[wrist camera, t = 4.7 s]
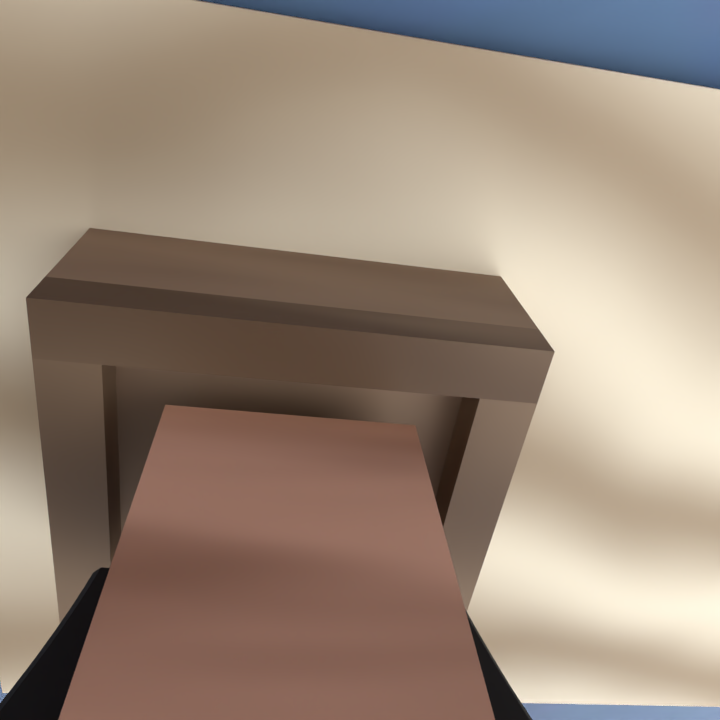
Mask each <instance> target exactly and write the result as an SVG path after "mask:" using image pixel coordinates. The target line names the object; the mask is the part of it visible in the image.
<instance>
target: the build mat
mask: <svg viewBox="0 0 720 720" xmlns="http://www.w3.org/2000/svg"><path fill="white" fill-rule="evenodd" d="M165 405H175V406H187V407H199V408H212V409H224V410H236V411H248V412H260V413H272V414H285V415H297V416H309V417H321V418H333V419H345V420H358V421H370V422H382V423H394V424H406V425H415V426H416V429H417V433H418V437H419V440H420V444H421V448H422V452H423V455H424V459H425V463H426V466H427V470H428V474H429V477H430V481H431V485H432V489H433V492H434V496H435V500H436V503H437V507H438V511H439V514H440V518H441V522H442V525H443V529H444V533H445V537H446V540H447V544H448V548H449V551H450V555H451V559H452V562H453V566H454V570H455V573H456V577H457V581H458V585H459V588H460V592H461V596H462V599H463V603H464V607H465V609H466V611H467V613H468V615H469V617H470V618H471V620H472V622H473V624H474V625H475V627H476V629H477V631H478V632H479V634H480V636H481V638H482V639H483V641H484V643H485V645H486V646H487V648H488V650H489V651H490V653H491V655H492V656H493V658H494V660H495V661H496V663H497V665H498V666H499V668H500V670H501V671H502V673H503V675H504V676H505V678H506V679H507V681H508V683H509V684H510V686H511V688H512V689H513V691H514V692H515V694H516V695H517V697H518V698H519V700H520V702H521V703H551V704H603V705H655V706H706V707H720V89H717V88H711V87H705V86H699V85H693V84H687V83H681V82H676V81H670V80H664V79H658V78H652V77H646V76H640V75H634V74H629V73H623V72H617V71H611V70H605V69H599V68H593V67H587V66H582V65H576V64H570V63H564V62H558V61H552V60H546V59H540V58H535V57H529V56H523V55H517V54H511V53H505V52H499V51H493V50H488V49H482V48H476V47H470V46H464V45H458V44H452V43H446V42H441V41H435V40H429V39H423V38H417V37H411V36H405V35H400V34H394V33H388V32H382V31H376V30H370V29H364V28H358V27H353V26H347V25H341V24H335V23H329V22H323V21H317V20H311V19H306V18H300V17H294V16H288V15H282V14H276V13H270V12H264V11H259V10H253V9H247V8H241V7H235V6H229V5H223V4H217V3H212V2H206V1H200V0H0V681H1V687H2V692H3V693H9V691H10V690H11V689H12V688H13V686H14V685H15V684H16V682H17V681H18V680H19V678H20V677H21V676H22V675H23V673H24V672H25V671H26V669H27V668H28V667H29V665H30V664H31V663H32V661H33V660H34V659H35V658H36V656H37V655H38V653H39V652H40V651H41V649H42V648H43V646H44V645H45V644H46V642H47V641H48V640H49V638H50V637H51V635H52V634H53V633H54V631H55V630H56V628H57V627H58V625H59V624H60V623H61V621H62V620H63V618H64V617H65V615H66V614H67V612H68V611H69V609H70V608H71V607H72V605H73V603H74V602H75V600H76V599H77V597H78V596H79V594H80V593H81V591H82V590H83V588H84V586H85V585H86V583H87V582H88V580H89V578H90V577H91V575H92V573H93V572H95V571H96V570H98V569H99V568H101V567H104V568H110V566H111V563H112V560H113V557H114V554H115V551H116V548H117V545H118V543H119V540H120V537H121V534H122V531H123V528H124V525H125V522H126V519H127V516H128V513H129V510H130V507H131V504H132V501H133V498H134V495H135V492H136V490H137V487H138V484H139V481H140V478H141V475H142V472H143V469H144V466H145V463H146V460H147V457H148V454H149V451H150V448H151V445H152V442H153V439H154V436H155V434H156V431H157V428H158V425H159V422H160V419H161V416H162V413H163V410H164V407H165Z"/></svg>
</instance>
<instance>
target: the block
mask: <svg viewBox="0 0 720 720" xmlns="http://www.w3.org/2000/svg"><path fill="white" fill-rule="evenodd" d="M58 720H495V718H494V714H493V710H492V706H491V703H490V699H489V695H488V692H487V688H486V684H485V681H484V677H483V673H482V670H481V666H480V662H479V658H478V655H477V651H476V647H475V644H474V640H473V636H472V633H471V629H470V625H469V622H468V618H467V614H466V610H465V607H464V603H463V599H462V596H461V592H460V588H459V585H458V581H457V577H456V573H455V570H454V566H453V562H452V559H451V555H450V551H449V548H448V544H447V540H446V537H445V533H444V529H443V525H442V522H441V518H440V514H439V511H438V507H437V503H436V500H435V496H434V492H433V489H432V485H431V481H430V477H429V474H428V470H427V466H426V463H425V459H424V455H423V452H422V448H421V444H420V440H419V437H418V433H417V429H416V426H415V425H406V424H394V423H382V422H370V421H358V420H345V419H333V418H321V417H309V416H297V415H285V414H272V413H260V412H248V411H236V410H224V409H212V408H199V407H187V406H175V405H165V407H164V410H163V413H162V416H161V419H160V422H159V425H158V428H157V431H156V434H155V436H154V439H153V442H152V445H151V448H150V451H149V454H148V457H147V460H146V463H145V466H144V469H143V472H142V475H141V478H140V481H139V484H138V487H137V490H136V492H135V495H134V498H133V501H132V504H131V507H130V510H129V513H128V516H127V519H126V522H125V525H124V528H123V531H122V534H121V537H120V540H119V543H118V545H117V548H116V551H115V554H114V557H113V560H112V563H111V566H110V569H109V572H108V575H107V578H106V581H105V584H104V587H103V590H102V593H101V596H100V598H99V601H98V604H97V607H96V610H95V613H94V616H93V619H92V622H91V625H90V628H89V631H88V634H87V637H86V640H85V643H84V646H83V649H82V651H81V654H80V657H79V660H78V663H77V666H76V669H75V672H74V675H73V678H72V681H71V684H70V687H69V690H68V693H67V696H66V699H65V702H64V705H63V707H62V710H61V713H60V716H59V719H58Z"/></svg>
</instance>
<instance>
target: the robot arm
mask: <svg viewBox="0 0 720 720" xmlns="http://www.w3.org/2000/svg"><path fill="white" fill-rule="evenodd" d="M109 569H110V568H104V567H101V568H99V569H98V570H96V571H95V572H93V573H92V575H91V577H90V578H89V580H88V582H87V583H86V585H85V586H84V588H83V590H82V591H81V593H80V594H79V596H78V597H77V599H76V600H75V602H74V603H73V605H72V607H71V608H70V609H69V611H68V612H67V614H66V615H65V617H64V618H63V620H62V621H61V623H60V624H59V625H58V627H57V628H56V630H55V631H54V633H53V634H52V635H51V637H50V638H49V640H48V641H47V642H46V644H45V645H44V646H43V648H42V649H41V651H40V652H39V653H38V655H37V656H36V658H35V659H34V660H33V661H32V663H31V664H30V665H29V667H28V668H27V669H26V671H25V672H24V673H23V675H22V676H21V677H20V678H19V680H18V681H17V682H16V684H15V685H14V686H13V688H12V689H11V690H10V691H9V693H8V694H7V695H6V697H5V698H4V699H3V701H2V702H1V703H0V720H58V719H59V716H60V713H61V710H62V707H63V705H64V702H65V699H66V696H67V693H68V690H69V687H70V684H71V681H72V678H73V675H74V672H75V669H76V666H77V663H78V660H79V657H80V654H81V651H82V649H83V646H84V643H85V640H86V637H87V634H88V631H89V628H90V625H91V622H92V619H93V616H94V613H95V610H96V607H97V604H98V601H99V598H100V596H101V593H102V590H103V587H104V584H105V581H106V578H107V575H108V572H109ZM465 610H466V609H465ZM466 614H467V618H468V622H469V625H470V629H471V633H472V636H473V640H474V644H475V647H476V651H477V655H478V658H479V662H480V666H481V670H482V673H483V677H484V681H485V684H486V688H487V692H488V695H489V699H490V703H491V706H492V710H493V714H494V718H495V720H532V719H531V717H530V716H529V714H528V712H527V711H526V709H525V708H524V706H523V705H522V703H521V702H520V700H519V698H518V697H517V695H516V694H515V692H514V691H513V689H512V688H511V686H510V684H509V683H508V681H507V679H506V678H505V676H504V675H503V673H502V671H501V670H500V668H499V666H498V665H497V663H496V661H495V660H494V658H493V656H492V655H491V653H490V651H489V650H488V648H487V646H486V645H485V643H484V641H483V639H482V638H481V636H480V634H479V632H478V631H477V629H476V627H475V625H474V624H473V622H472V620H471V618H470V617H469V615H468V613H467V611H466Z"/></svg>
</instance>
